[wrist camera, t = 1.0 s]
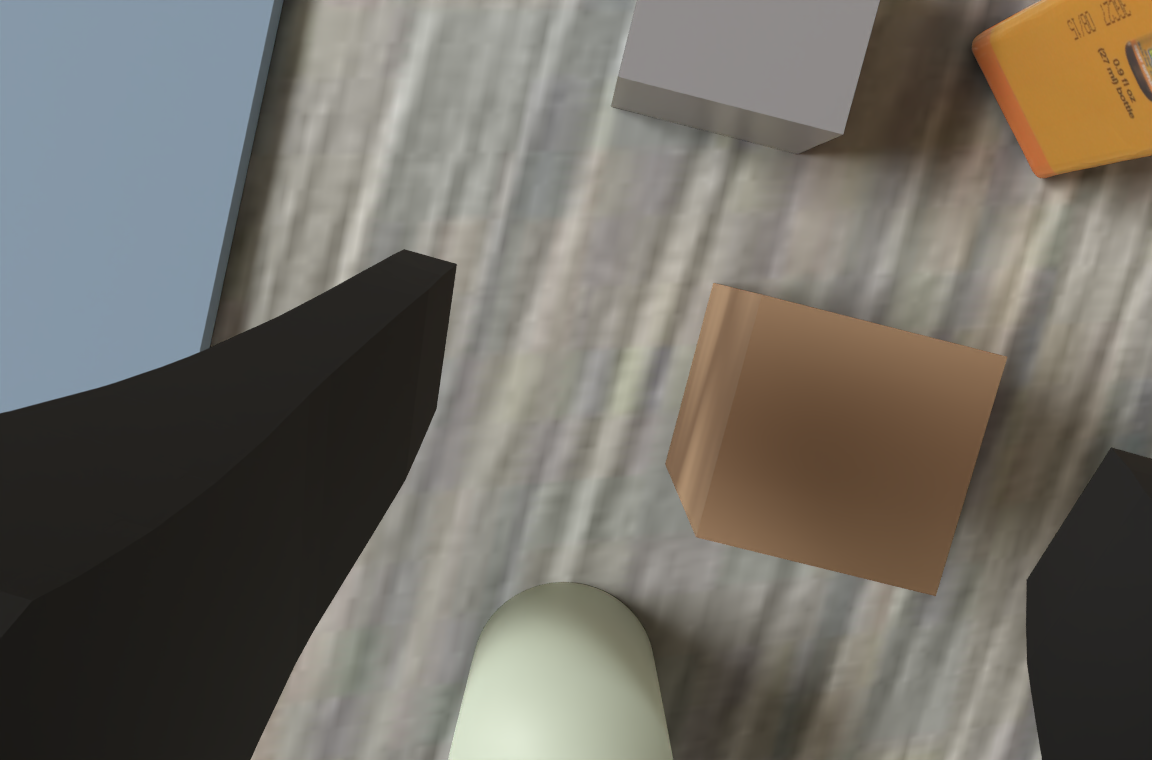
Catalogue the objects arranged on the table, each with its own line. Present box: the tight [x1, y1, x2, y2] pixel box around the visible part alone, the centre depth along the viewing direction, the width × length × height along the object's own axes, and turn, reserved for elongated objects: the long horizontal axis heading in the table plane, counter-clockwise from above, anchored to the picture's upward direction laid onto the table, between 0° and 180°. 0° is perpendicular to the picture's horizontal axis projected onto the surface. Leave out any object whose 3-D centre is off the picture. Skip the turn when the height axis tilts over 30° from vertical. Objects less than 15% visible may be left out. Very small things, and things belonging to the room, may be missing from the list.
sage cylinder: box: [448, 582, 673, 760], centre depth 21 cm, size 4×4×5 cm
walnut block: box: [665, 283, 1007, 596], centre depth 20 cm, size 4×4×6 cm
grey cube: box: [611, 0, 880, 154], centre depth 20 cm, size 4×4×4 cm
